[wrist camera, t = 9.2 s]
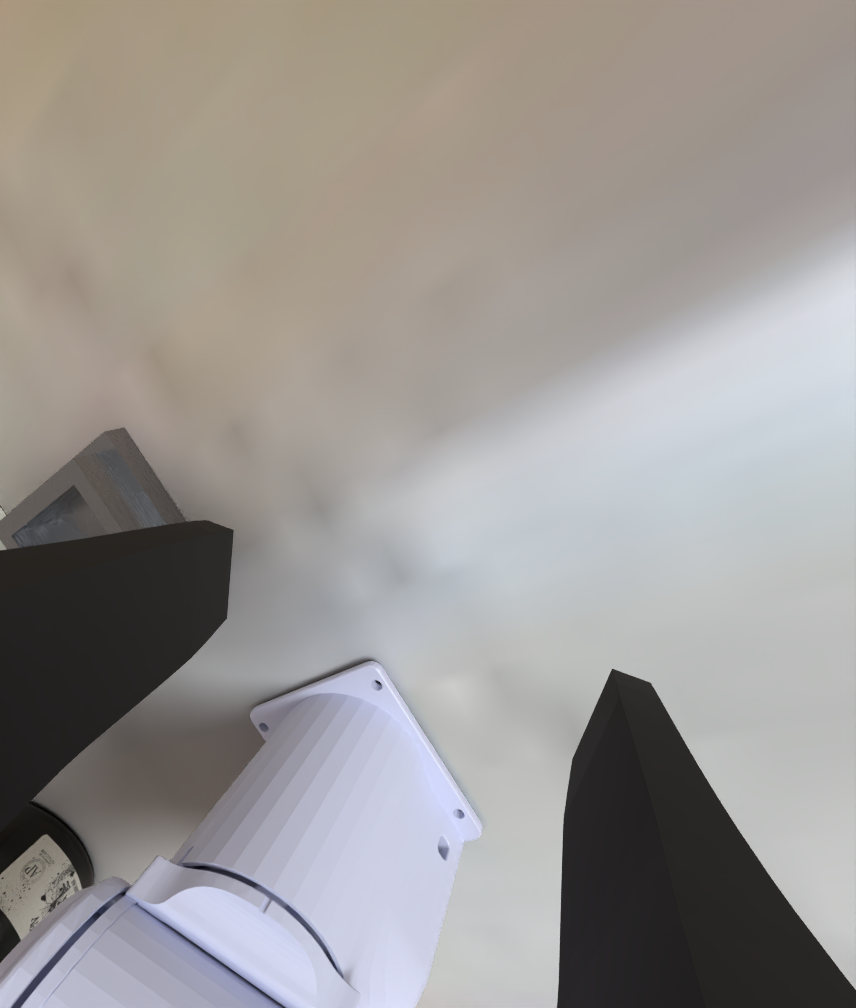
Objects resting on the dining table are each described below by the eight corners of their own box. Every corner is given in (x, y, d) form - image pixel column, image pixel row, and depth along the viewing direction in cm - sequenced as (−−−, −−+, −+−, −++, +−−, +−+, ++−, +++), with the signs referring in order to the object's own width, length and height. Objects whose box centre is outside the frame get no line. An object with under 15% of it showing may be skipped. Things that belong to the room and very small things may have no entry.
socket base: (225, 580, 24) (186, 606, 22) (123, 637, 27) (80, 665, 25) (124, 427, 23) (72, 438, 21) (30, 505, 26) (-23, 522, 24)
